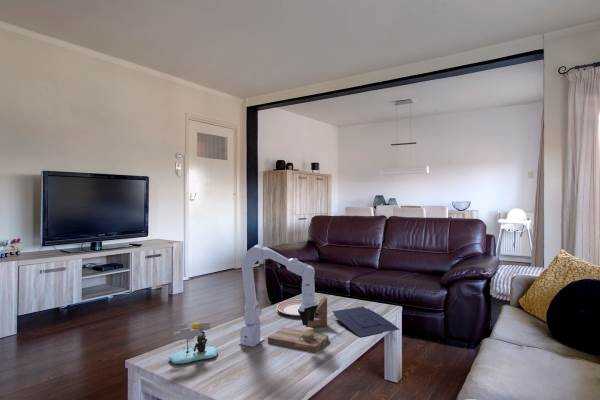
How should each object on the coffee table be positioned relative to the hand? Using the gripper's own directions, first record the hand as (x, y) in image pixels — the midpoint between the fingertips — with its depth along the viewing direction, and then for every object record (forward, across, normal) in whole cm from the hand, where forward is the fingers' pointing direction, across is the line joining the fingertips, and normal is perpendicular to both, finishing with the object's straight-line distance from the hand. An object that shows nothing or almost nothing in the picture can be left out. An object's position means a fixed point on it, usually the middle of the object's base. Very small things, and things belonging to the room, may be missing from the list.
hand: (308, 323), depth 169 cm
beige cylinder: (+9, 0, 0) cm, 9 cm away
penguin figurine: (+10, -34, +36) cm, 50 cm away
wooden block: (+10, +23, +6) cm, 26 cm away
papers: (+10, +36, -15) cm, 40 cm away
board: (+9, 0, +5) cm, 11 cm away
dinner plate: (+10, +41, +24) cm, 49 cm away
